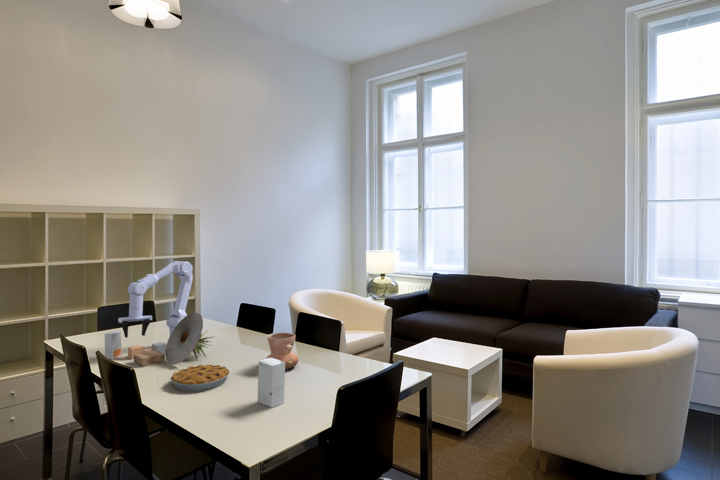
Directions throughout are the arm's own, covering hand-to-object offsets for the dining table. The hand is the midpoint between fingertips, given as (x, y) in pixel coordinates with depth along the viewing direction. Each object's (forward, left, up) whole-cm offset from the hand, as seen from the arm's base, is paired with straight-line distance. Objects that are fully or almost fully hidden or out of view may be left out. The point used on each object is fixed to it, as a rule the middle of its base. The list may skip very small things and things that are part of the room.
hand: (134, 336), depth 212 cm
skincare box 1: (+7, -8, -10) cm, 15 cm away
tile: (-8, -5, -10) cm, 14 cm away
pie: (-3, +56, -10) cm, 57 cm away
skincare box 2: (-9, +94, -10) cm, 95 cm away
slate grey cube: (-10, +3, -10) cm, 15 cm away
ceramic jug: (-36, +65, -10) cm, 75 cm away
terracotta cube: (0, 0, -10) cm, 10 cm away
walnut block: (-1, +13, -10) cm, 17 cm away
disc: (-16, +23, -10) cm, 30 cm away
